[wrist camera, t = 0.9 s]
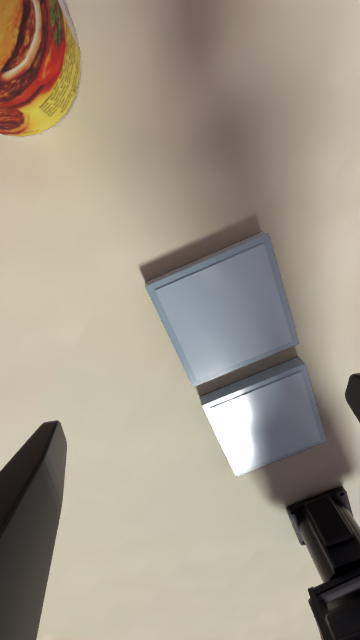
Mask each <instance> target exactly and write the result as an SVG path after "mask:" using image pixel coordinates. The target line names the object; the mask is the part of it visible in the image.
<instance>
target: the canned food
mask: <svg viewBox="0 0 360 640" xmlns="http://www.w3.org/2000/svg"><path fill="white" fill-rule="evenodd" d="M80 79H81V52H80V48H79V44H78V40H77V35H76V31H75V28H74V25H73V23H72V20H71V18H70V16H69V13H68V11H67V8H66V6H65V3H64V1H63V0H0V134H3V135H7V136H16V137H29V136H34V135H40V134H42V133H44V132H46V131H48V130H50V129H52V128H54V127H56V126H57V125H58V124H59V123H60V122H61V120H62V119H63V118H64V117H65V116H66V115H67V114H68V113H69V111H70V109H71V107H72V105H73V103H74V101H75V99H76V97H77V93H78V89H79V84H80Z"/></svg>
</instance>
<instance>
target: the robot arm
mask: <svg viewBox="0 0 360 640" xmlns="http://www.w3.org/2000/svg"><path fill="white" fill-rule="evenodd" d="M345 398H346V401H347V403H348V404H349V406H350V408H351V409H352V411H353V413H354V414H355V416H356V418H357V419H358V421H359V422H360V373H356V374H352V375H351V376H350V378H349V381H348V385H347V388H346V392H345ZM66 453H67V442H66V438H65V435H64V432H63V429H62V426H61V423H60V422H59V421H57V420H56V421H49V422H45V423H43V424H42V425H41V426H40V427H39V428H38V429H37V430H36V431H35V432H34V434H33V435H32V436H31V437H30V438H29V439H28V440H27V442H26V443H25V444H24V445H23V446H22V447H21V448H20V449H19V451H18V452H17V453H16V454H15V455H14V456H13V457H12V459H11V460H10V461H9V462H8V463H7V464H6V465H5V466H4V468H3V469H2V470H1V471H0V640H36V638H37V633H38V628H39V622H40V617H41V612H42V607H43V602H44V597H45V591H46V586H47V581H48V576H49V571H50V565H51V560H52V555H53V550H54V545H55V539H56V534H57V529H58V524H59V519H60V514H61V507H62V500H63V489H64V477H65V465H66ZM287 513H288V515H289V518H290V520H291V522H292V525H293V527H294V530H295V532H296V535H297V537H298V540H299V542H300V544H301V545H306V546H307V549H308V551H309V553H310V555H311V557H312V559H313V561H314V564H315V566H316V568H317V570H318V572H319V574H320V576H321V579H322V581H323V584H320V585H318V586H316V587H311V588H309V589H308V592H309V595H310V599H309V601H308V602H309V604H310V607H311V609H312V612H313V614H314V617H315V619H316V622H317V625H318V628H319V631H320V635H321V639H322V640H360V527H359V526H358V524H357V523H356V521H355V520H354V518H353V514H352V510H351V507H350V503H349V499H348V496H347V492H346V491H345V489H344V488H343V487H340V488H337V489H334V490H332V491H329V492H326V493H324V494H321V495H319V496H316V497H313V498H311V499H308V500H306V501H303V502H300V503H298V504H295V505H292V506H290V507H288V508H287Z"/></svg>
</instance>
